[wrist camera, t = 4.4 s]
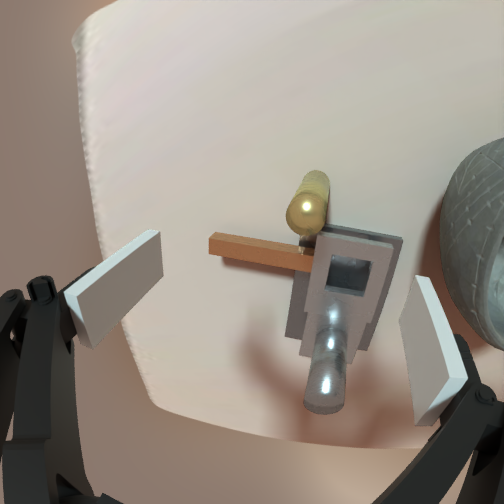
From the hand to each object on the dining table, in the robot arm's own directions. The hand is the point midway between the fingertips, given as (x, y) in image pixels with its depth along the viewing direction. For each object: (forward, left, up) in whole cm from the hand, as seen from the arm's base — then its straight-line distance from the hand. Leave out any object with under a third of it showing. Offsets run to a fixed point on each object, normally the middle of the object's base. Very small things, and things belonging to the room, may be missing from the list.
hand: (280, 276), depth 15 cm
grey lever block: (+13, 0, -21) cm, 25 cm away
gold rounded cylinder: (0, 0, -21) cm, 21 cm away
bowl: (-1, +23, -21) cm, 32 cm away
